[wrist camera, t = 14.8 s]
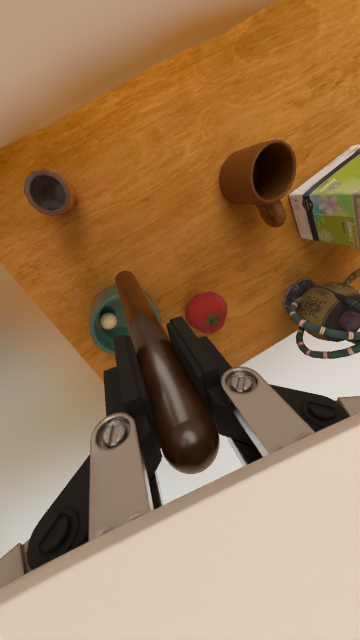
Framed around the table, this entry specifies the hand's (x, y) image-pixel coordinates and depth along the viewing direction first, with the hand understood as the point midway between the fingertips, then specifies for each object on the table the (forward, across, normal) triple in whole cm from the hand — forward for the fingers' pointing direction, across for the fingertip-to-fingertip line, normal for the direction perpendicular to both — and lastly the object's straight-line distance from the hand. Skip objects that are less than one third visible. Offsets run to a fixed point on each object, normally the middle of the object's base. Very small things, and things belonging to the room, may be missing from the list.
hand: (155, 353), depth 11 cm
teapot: (+32, -42, +21) cm, 56 cm away
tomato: (+32, -14, +16) cm, 38 cm away
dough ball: (+30, +4, +12) cm, 33 cm away
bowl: (+32, +2, +13) cm, 34 cm away
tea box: (+32, -42, +1) cm, 53 cm away
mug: (+32, -24, -3) cm, 40 cm away
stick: (+12, 0, 0) cm, 12 cm away
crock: (+32, +5, -8) cm, 33 cm away
